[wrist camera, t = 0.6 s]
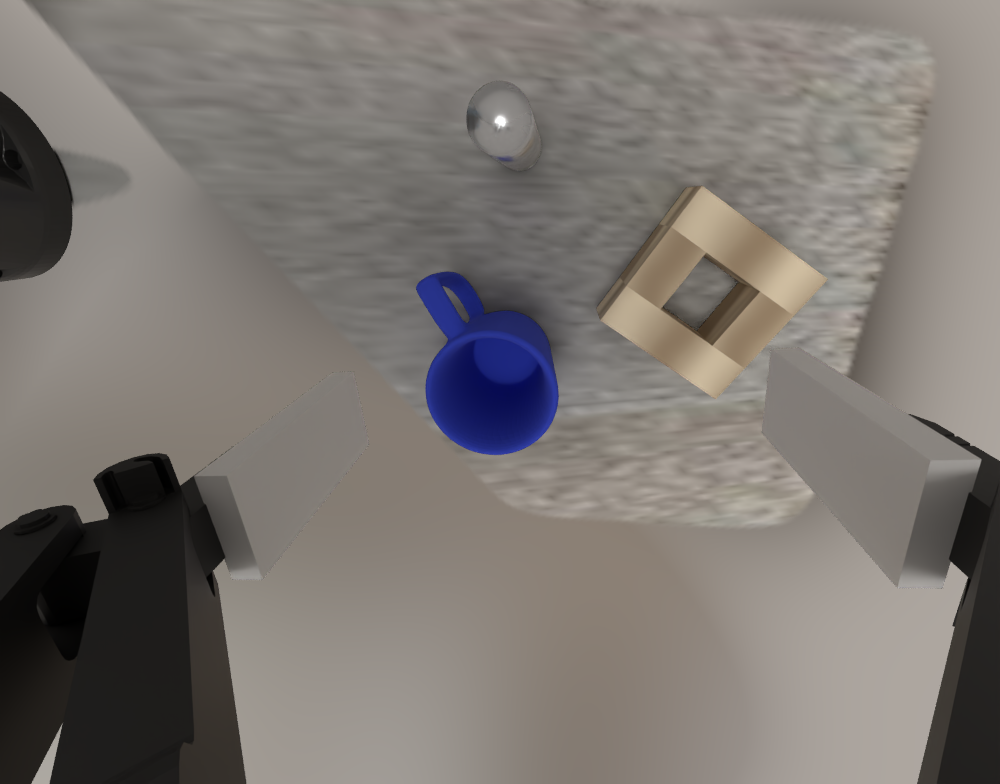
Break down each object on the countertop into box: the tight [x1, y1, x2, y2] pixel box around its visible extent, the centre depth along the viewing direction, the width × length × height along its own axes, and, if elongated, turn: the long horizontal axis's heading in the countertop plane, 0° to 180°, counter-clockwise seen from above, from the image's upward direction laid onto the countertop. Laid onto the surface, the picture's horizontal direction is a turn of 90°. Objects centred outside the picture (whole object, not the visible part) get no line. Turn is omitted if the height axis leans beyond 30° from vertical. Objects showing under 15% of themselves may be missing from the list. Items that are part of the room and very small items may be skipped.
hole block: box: [596, 186, 828, 399], centre depth 33 cm, size 10×10×4 cm
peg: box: [467, 81, 542, 171], centre depth 27 cm, size 3×3×12 cm
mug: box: [416, 272, 559, 455], centre depth 33 cm, size 8×12×10 cm
